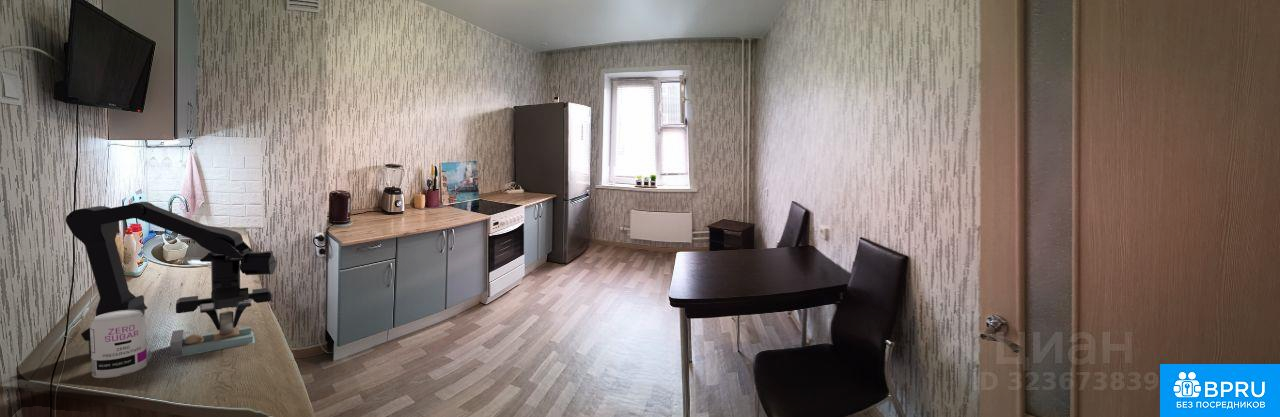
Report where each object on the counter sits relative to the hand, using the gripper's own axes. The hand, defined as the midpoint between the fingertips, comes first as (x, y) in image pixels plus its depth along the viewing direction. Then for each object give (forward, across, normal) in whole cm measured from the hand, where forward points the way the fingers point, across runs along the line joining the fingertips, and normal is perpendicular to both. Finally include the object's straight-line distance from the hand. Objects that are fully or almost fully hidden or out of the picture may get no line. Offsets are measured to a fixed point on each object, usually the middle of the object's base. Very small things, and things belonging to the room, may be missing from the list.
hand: (226, 328), depth 115 cm
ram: (+4, 0, 0) cm, 4 cm away
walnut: (+4, -6, 0) cm, 7 cm away
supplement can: (+5, -18, -6) cm, 20 cm away
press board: (+5, -2, 0) cm, 6 cm away
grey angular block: (+4, -9, 0) cm, 10 cm away
